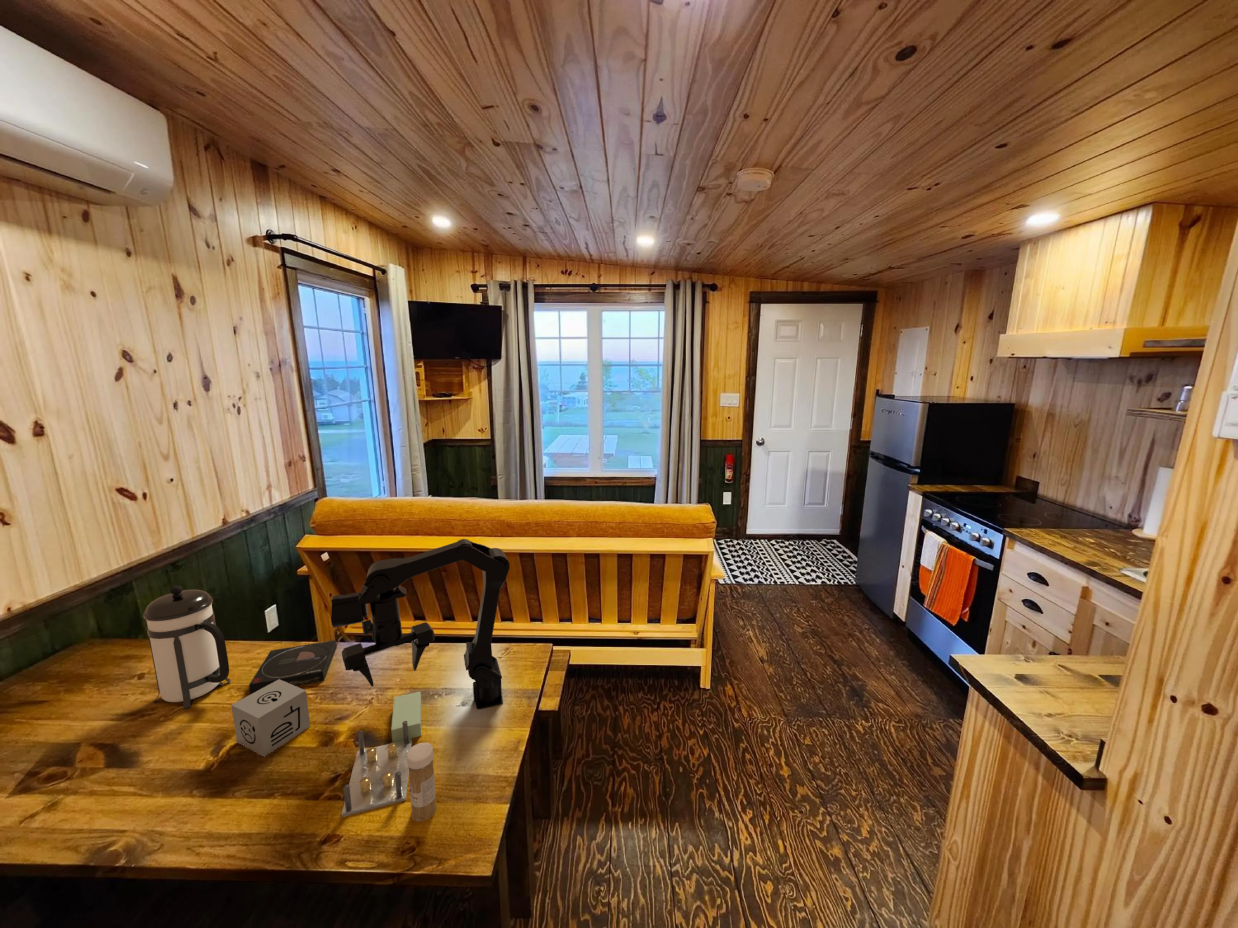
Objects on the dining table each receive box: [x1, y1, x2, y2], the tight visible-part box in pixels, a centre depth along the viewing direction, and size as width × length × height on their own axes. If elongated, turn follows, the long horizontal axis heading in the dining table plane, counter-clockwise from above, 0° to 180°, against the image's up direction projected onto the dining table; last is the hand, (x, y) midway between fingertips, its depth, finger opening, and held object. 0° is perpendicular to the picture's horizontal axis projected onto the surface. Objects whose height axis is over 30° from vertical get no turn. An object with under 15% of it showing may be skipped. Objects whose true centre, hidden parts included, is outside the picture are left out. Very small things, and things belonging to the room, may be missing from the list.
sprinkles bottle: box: [407, 742, 438, 823], centre depth 88 cm, size 5×5×14 cm
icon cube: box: [230, 679, 311, 758], centre depth 107 cm, size 10×10×10 cm
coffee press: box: [142, 585, 231, 711], centre depth 120 cm, size 17×16×30 cm
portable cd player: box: [248, 639, 338, 695], centre depth 132 cm, size 16×17×4 cm
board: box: [390, 691, 422, 743], centre depth 112 cm, size 12×6×4 cm, turn 22°
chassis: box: [341, 721, 413, 818], centre depth 97 cm, size 16×11×6 cm
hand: (393, 677), depth 110 cm, fingers open, 9 cm apart
